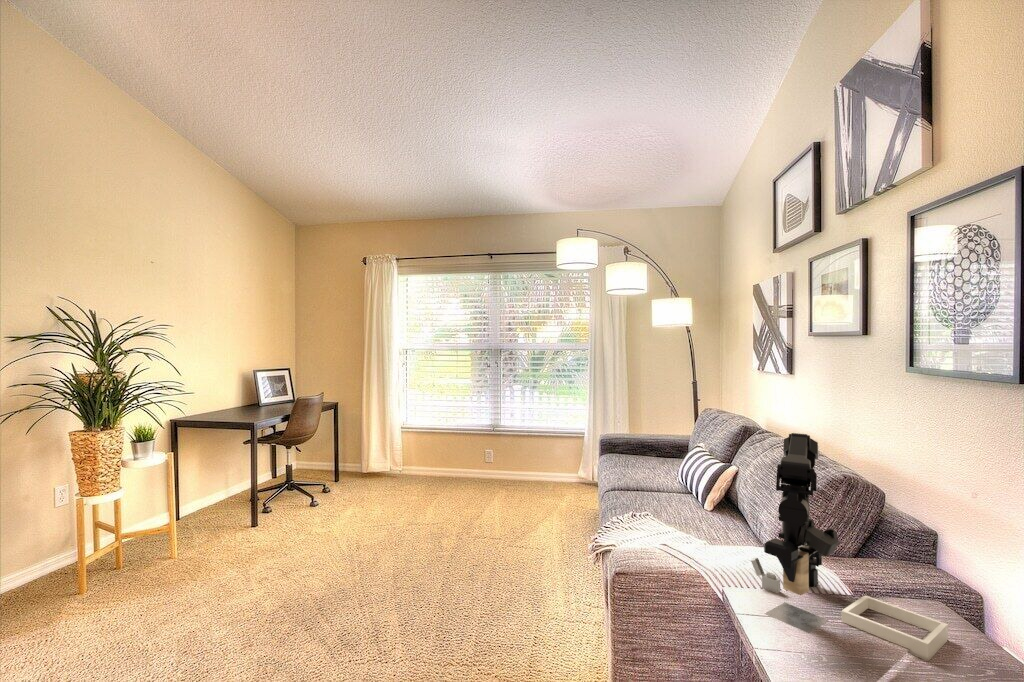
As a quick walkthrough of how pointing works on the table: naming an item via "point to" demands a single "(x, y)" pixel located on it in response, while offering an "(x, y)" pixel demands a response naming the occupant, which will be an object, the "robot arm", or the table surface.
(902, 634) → the rectangular frame
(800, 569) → the strut
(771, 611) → the base plate
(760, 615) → the table surface
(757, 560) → the lighter
